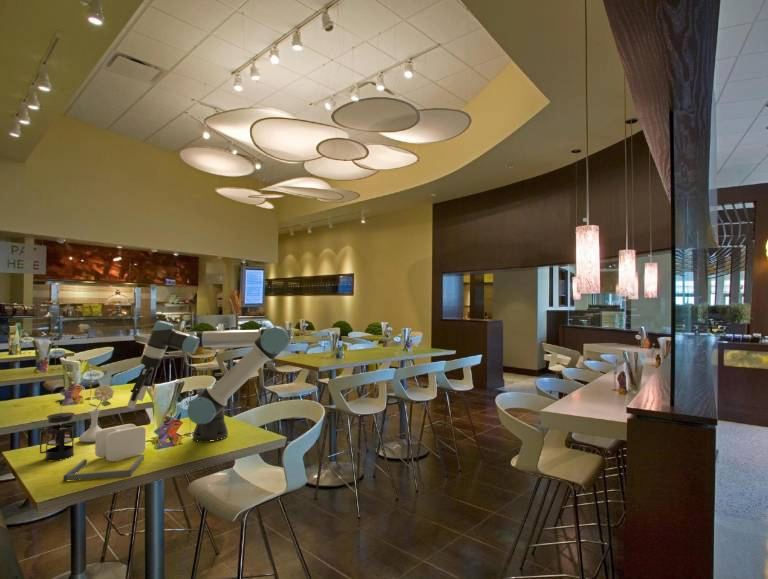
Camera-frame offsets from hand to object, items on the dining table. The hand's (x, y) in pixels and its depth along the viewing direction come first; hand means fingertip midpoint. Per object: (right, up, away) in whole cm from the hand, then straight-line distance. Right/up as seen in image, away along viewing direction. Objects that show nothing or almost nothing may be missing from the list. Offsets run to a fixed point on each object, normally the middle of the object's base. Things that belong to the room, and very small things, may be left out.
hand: (134, 403), depth 188 cm
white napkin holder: (-1, -19, -9) cm, 21 cm away
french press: (-25, -19, -10) cm, 33 cm away
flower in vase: (-25, -20, +12) cm, 34 cm away
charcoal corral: (+3, -18, -24) cm, 30 cm away
